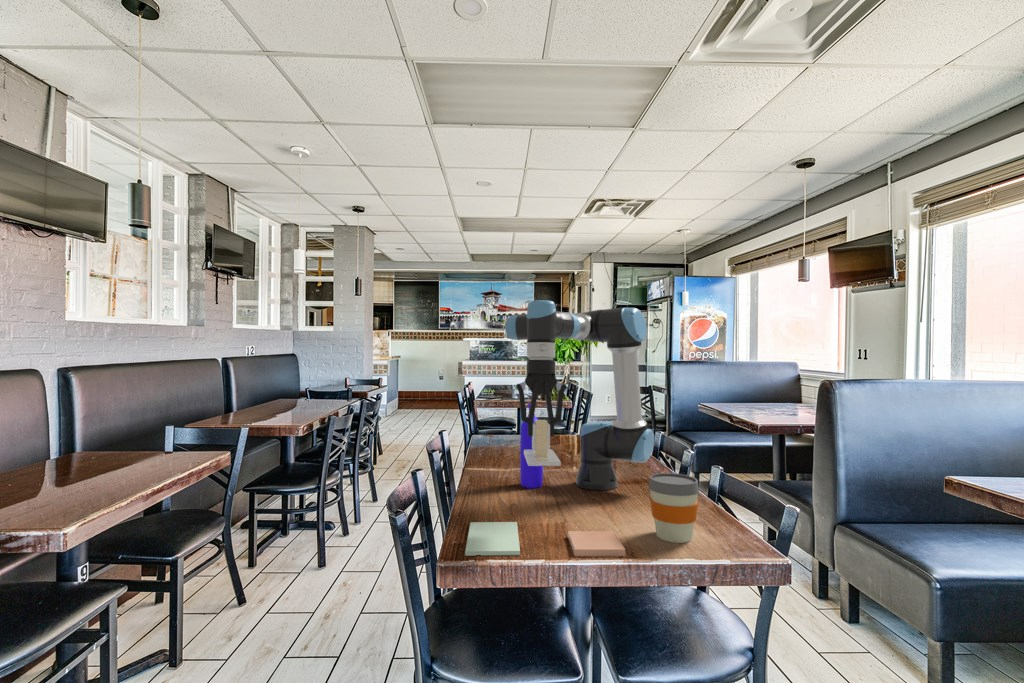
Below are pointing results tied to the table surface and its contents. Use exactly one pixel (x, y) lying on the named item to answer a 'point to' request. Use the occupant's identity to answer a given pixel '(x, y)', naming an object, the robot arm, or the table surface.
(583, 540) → the tile
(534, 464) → the beige post on base
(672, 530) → the reusable coffee cup
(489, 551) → the rest mat
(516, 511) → the table surface
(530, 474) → the bottle
